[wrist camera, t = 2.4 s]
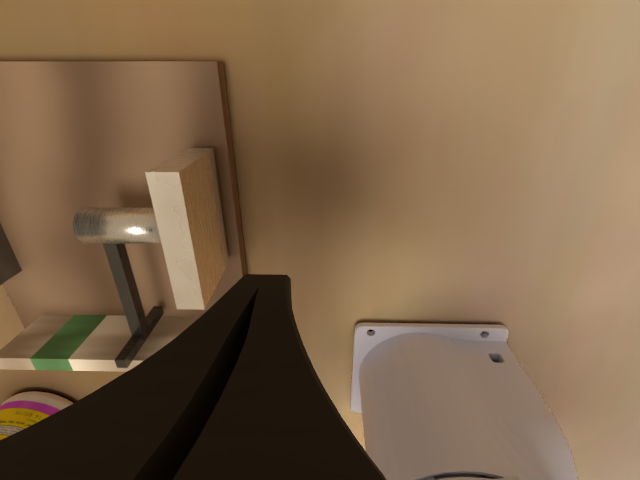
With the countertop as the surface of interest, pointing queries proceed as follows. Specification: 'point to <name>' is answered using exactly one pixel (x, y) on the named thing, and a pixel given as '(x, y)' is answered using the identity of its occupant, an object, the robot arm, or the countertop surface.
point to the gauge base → (99, 198)
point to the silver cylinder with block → (164, 239)
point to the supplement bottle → (28, 410)
